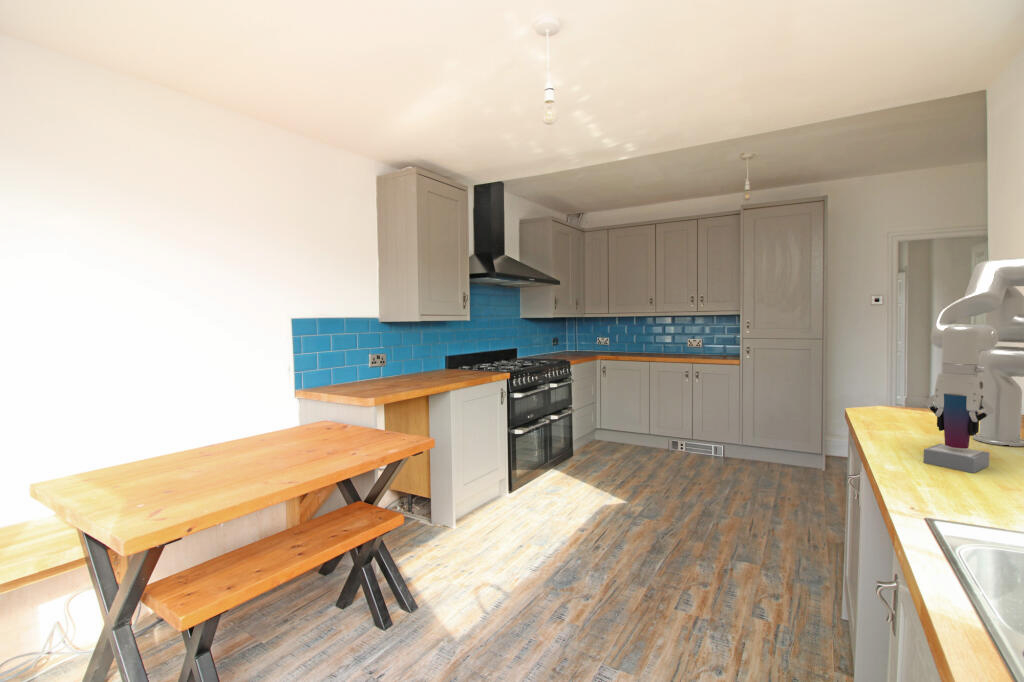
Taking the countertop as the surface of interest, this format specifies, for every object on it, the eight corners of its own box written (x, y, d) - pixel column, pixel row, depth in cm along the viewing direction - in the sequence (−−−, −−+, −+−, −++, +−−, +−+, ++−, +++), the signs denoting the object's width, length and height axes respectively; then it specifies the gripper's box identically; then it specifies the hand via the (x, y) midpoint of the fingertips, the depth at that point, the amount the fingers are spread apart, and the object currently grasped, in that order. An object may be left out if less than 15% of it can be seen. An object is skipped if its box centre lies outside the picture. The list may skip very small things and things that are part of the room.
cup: (979, 449, 135) (981, 396, 134) (950, 449, 136) (952, 395, 136) (962, 443, 142) (963, 392, 141) (935, 442, 143) (936, 391, 142)
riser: (939, 456, 147) (940, 443, 147) (988, 466, 137) (989, 451, 137) (923, 462, 141) (923, 448, 141) (973, 473, 132) (974, 458, 132)
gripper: (1006, 371, 132) (1003, 437, 133) (927, 366, 147) (925, 424, 148) (995, 373, 128) (993, 441, 130) (916, 367, 143) (914, 428, 144)
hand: (957, 431), depth 139 cm, fingers closed on cup, 6 cm apart
